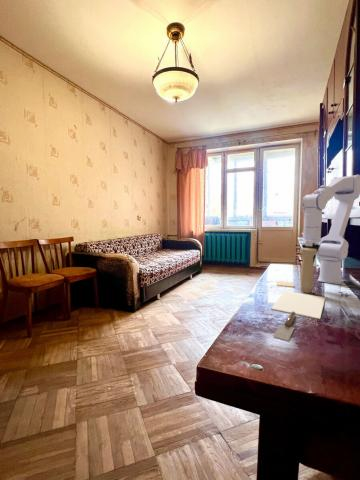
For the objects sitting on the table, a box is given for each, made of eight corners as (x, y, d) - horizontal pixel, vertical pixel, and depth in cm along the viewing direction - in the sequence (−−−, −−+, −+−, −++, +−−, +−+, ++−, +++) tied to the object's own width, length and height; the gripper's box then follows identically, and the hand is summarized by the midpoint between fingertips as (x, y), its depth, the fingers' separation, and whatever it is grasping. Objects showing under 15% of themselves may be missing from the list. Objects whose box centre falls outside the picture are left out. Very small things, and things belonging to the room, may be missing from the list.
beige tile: (276, 283, 99) (276, 280, 99) (292, 284, 97) (292, 282, 97) (276, 287, 93) (276, 284, 93) (294, 288, 91) (294, 286, 91)
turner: (287, 314, 65) (287, 310, 65) (299, 317, 64) (299, 312, 64) (273, 337, 53) (273, 331, 53) (288, 341, 51) (288, 335, 51)
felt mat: (285, 291, 86) (285, 290, 86) (325, 298, 79) (325, 297, 79) (270, 309, 69) (270, 308, 69) (320, 319, 62) (320, 318, 62)
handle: (315, 291, 87) (317, 248, 85) (312, 295, 82) (314, 250, 80) (300, 288, 90) (302, 247, 88) (296, 292, 85) (298, 249, 83)
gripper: (302, 226, 98) (301, 260, 100) (297, 227, 86) (295, 265, 88) (323, 227, 95) (321, 262, 96) (320, 228, 83) (317, 268, 84)
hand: (310, 264), depth 91 cm, fingers closed
